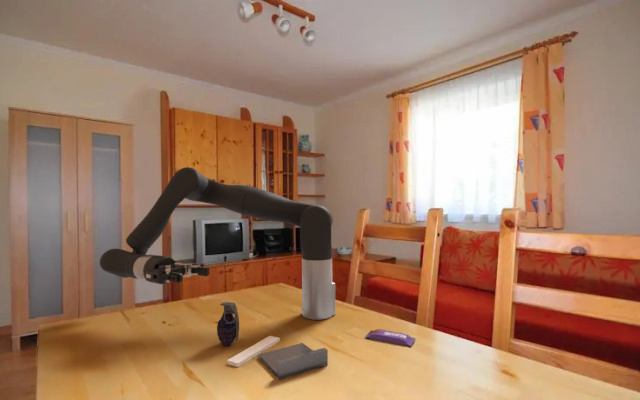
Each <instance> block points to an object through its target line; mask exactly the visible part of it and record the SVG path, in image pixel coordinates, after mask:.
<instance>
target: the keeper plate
mask: <svg viewBox="0 0 640 400" xmlns="http://www.w3.org/2000/svg"><path fill="white" fill-rule="evenodd" d="M257 356H258V359H259V360H260V361H261V362H262V364H263V365H264V366H265V367H267V368H268V369H269V370H270V371H271V373H272V374H273V375H274V376H275V377H276V378H277V379H278V380H279V381H281V380H283V379H287V378H290V377H293V376H296V375H300V374H303V373H307V372H309V371H313V370H314V371H315V370H316V369H320V368H322V367H327V366H328V363H329V362H328V357H329V356H328V349H327V348H325V347H323V348H318V349H314V350H313V349H311V348H310V347H308V346H307V345H306V344H305V343H303V342H301V343H296V344H292V345H288V346H285V347H281V348H276V349H273V350H268V351H264V352H262V353H260V354H258V355H257Z"/></svg>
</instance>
